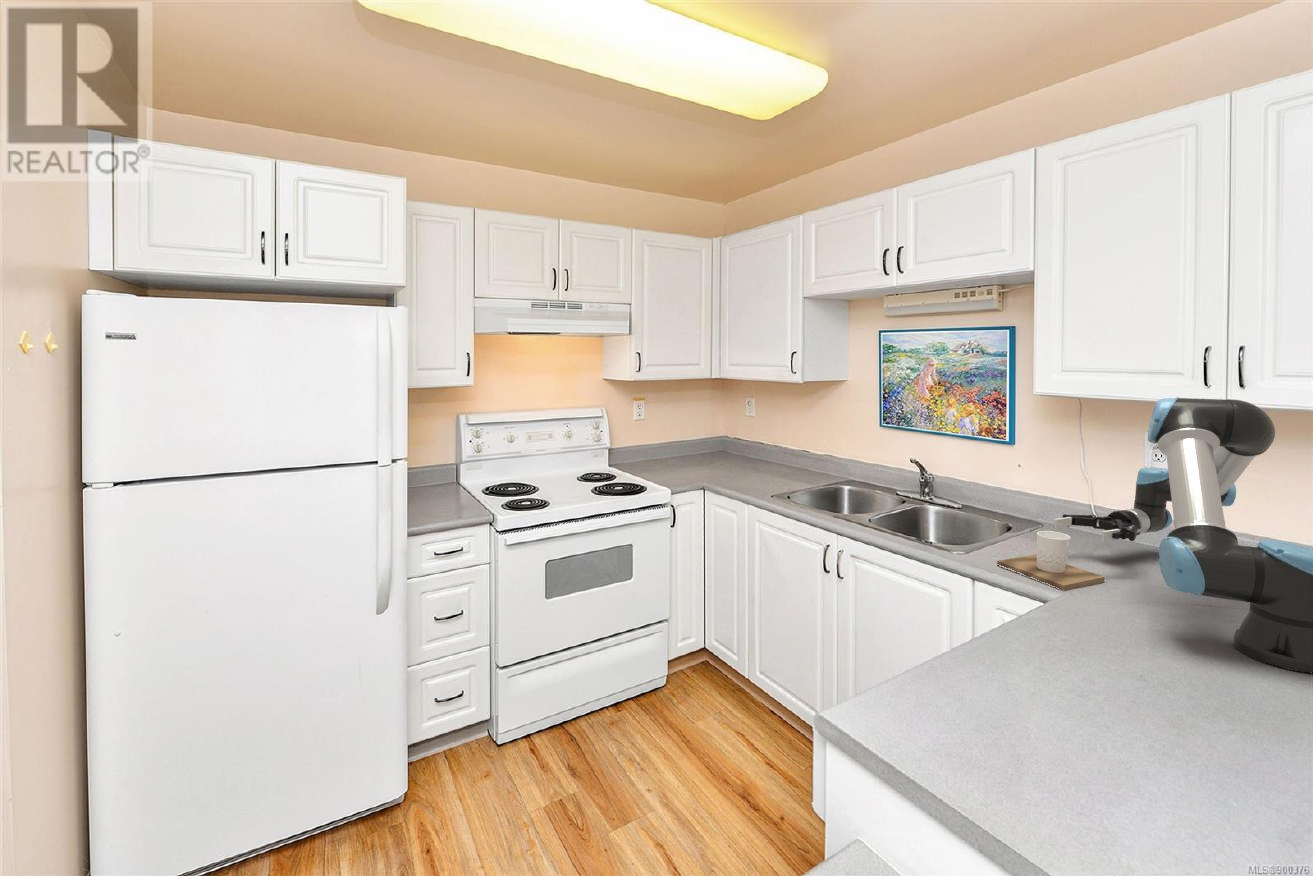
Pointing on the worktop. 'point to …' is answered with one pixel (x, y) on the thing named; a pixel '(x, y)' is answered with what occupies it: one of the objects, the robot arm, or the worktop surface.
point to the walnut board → (1060, 580)
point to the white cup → (1052, 551)
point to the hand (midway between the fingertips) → (1077, 529)
